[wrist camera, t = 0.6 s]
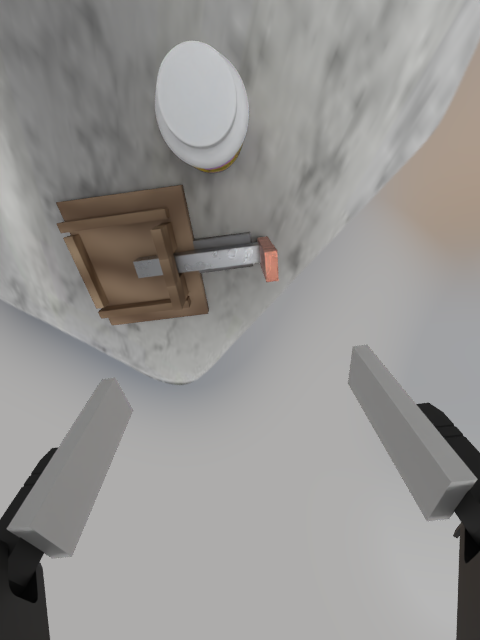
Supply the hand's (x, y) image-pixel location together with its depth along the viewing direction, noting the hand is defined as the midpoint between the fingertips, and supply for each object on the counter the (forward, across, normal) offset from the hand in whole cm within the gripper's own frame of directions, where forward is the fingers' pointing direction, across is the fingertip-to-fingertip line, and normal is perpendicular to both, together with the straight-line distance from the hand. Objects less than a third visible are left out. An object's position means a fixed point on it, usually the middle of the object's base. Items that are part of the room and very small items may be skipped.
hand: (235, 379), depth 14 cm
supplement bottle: (+22, 0, +14) cm, 26 cm away
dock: (+21, -8, +2) cm, 23 cm away
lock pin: (+20, -3, +2) cm, 20 cm away
